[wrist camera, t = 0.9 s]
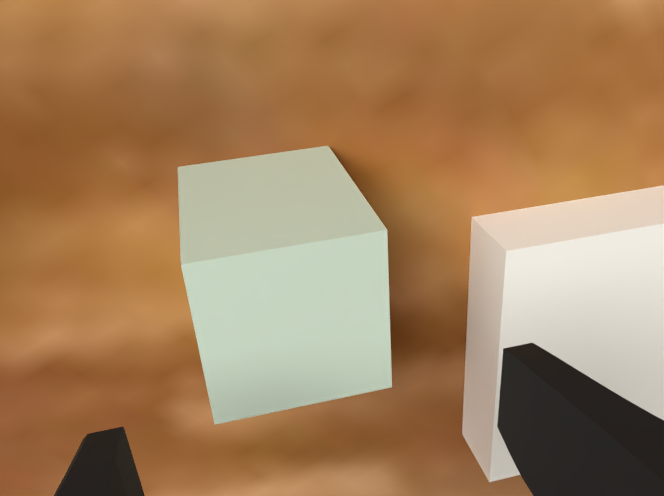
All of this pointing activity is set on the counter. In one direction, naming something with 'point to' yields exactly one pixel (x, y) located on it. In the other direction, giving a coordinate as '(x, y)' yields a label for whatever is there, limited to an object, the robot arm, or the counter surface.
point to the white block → (565, 303)
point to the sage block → (284, 282)
